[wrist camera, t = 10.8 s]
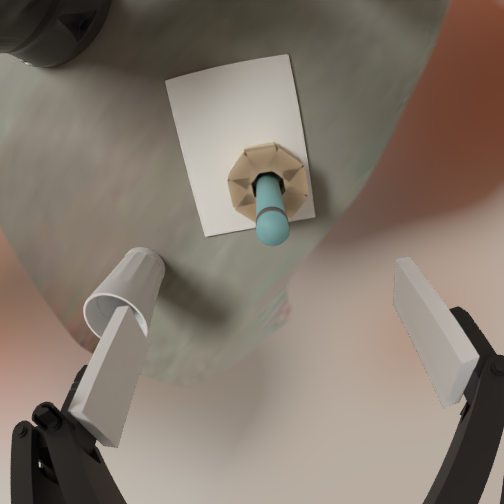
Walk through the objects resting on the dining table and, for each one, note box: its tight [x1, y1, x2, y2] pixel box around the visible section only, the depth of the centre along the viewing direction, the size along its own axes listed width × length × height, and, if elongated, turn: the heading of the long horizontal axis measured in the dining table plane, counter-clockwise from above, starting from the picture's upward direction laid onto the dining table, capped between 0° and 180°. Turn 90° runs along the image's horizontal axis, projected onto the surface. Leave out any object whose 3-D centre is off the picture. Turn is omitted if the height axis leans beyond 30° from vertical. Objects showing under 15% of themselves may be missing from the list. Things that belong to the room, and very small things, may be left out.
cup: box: [83, 247, 165, 339], centre depth 37 cm, size 8×8×12 cm
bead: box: [227, 142, 309, 223], centre depth 35 cm, size 8×8×4 cm
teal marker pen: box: [256, 171, 289, 246], centre depth 30 cm, size 2×2×15 cm
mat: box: [165, 54, 315, 237], centre depth 35 cm, size 20×14×1 cm
